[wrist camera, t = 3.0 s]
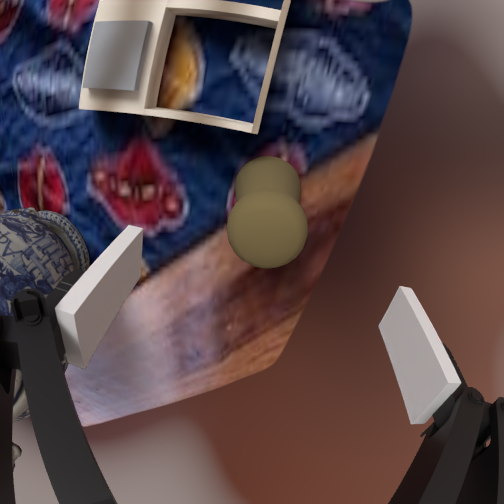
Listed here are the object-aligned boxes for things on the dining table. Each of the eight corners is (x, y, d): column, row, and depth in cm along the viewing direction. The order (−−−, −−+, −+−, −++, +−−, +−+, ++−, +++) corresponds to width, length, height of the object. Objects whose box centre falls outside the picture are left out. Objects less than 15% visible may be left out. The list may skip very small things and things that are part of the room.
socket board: (94, 106, 25) (72, 110, 22) (141, -70, 16) (126, -86, 12) (258, 130, 26) (256, 136, 23) (306, -60, 17) (312, -78, 13)
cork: (285, 227, 30) (292, 294, 21) (226, 205, 30) (204, 265, 20) (311, 170, 28) (334, 214, 18) (248, 146, 27) (236, 176, 17)
